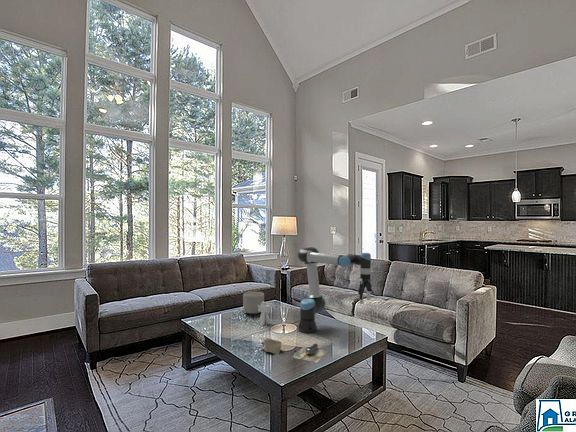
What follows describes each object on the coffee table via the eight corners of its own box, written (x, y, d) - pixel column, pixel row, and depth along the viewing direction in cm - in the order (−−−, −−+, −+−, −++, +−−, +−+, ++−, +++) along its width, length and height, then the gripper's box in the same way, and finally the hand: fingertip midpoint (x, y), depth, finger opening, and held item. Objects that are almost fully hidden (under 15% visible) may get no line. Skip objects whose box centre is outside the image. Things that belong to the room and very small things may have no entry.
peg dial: (308, 360, 196) (308, 355, 196) (299, 358, 199) (299, 353, 199) (320, 348, 213) (320, 344, 213) (311, 347, 216) (312, 342, 216)
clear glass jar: (269, 326, 262) (270, 304, 262) (255, 324, 266) (255, 302, 267) (275, 321, 273) (275, 300, 274) (260, 320, 278) (260, 299, 278)
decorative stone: (263, 348, 218) (263, 336, 218) (283, 351, 213) (283, 338, 213) (258, 352, 211) (258, 340, 211) (278, 356, 206) (278, 343, 206)
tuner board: (290, 358, 202) (290, 356, 202) (302, 347, 218) (302, 345, 219) (317, 364, 193) (317, 362, 193) (327, 353, 210) (327, 350, 210)
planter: (243, 310, 306) (243, 291, 306) (263, 310, 308) (263, 291, 308) (242, 316, 287) (243, 296, 287) (264, 316, 289) (264, 296, 289)
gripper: (363, 276, 229) (363, 306, 229) (376, 271, 249) (375, 299, 249) (353, 275, 233) (353, 304, 233) (367, 270, 253) (366, 297, 253)
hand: (365, 301), depth 241 cm, fingers open, 13 cm apart
